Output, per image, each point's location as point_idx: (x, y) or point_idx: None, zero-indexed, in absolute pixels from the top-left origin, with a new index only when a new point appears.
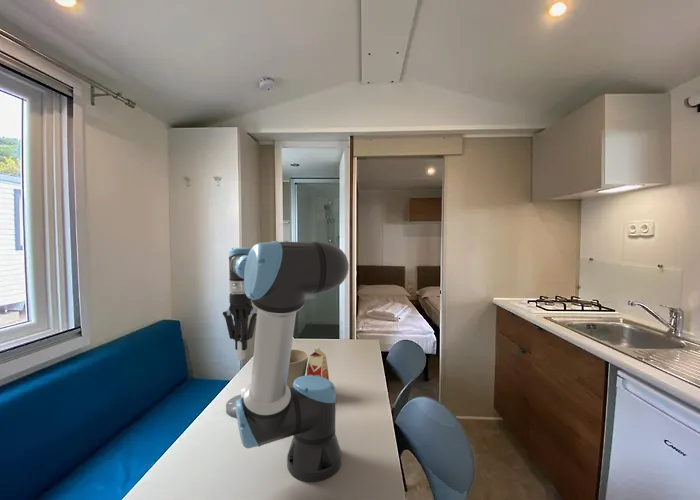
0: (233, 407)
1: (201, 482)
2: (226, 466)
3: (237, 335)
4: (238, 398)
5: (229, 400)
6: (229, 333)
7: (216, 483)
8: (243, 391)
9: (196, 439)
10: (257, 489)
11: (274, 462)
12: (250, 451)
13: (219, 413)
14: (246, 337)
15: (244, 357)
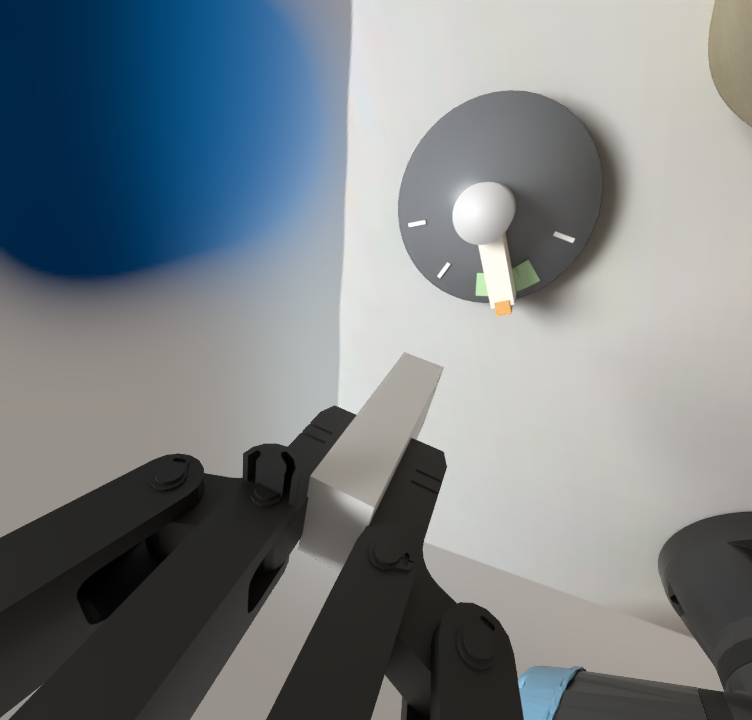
0: (438, 257)
1: (440, 526)
2: (483, 504)
3: (240, 637)
4: (442, 167)
5: (403, 188)
6: (101, 587)
7: (473, 539)
8: (469, 237)
9: (372, 388)
10: (569, 584)
11: (618, 533)
12: (541, 475)
13: (389, 251)
14: (406, 705)
15: (437, 384)
